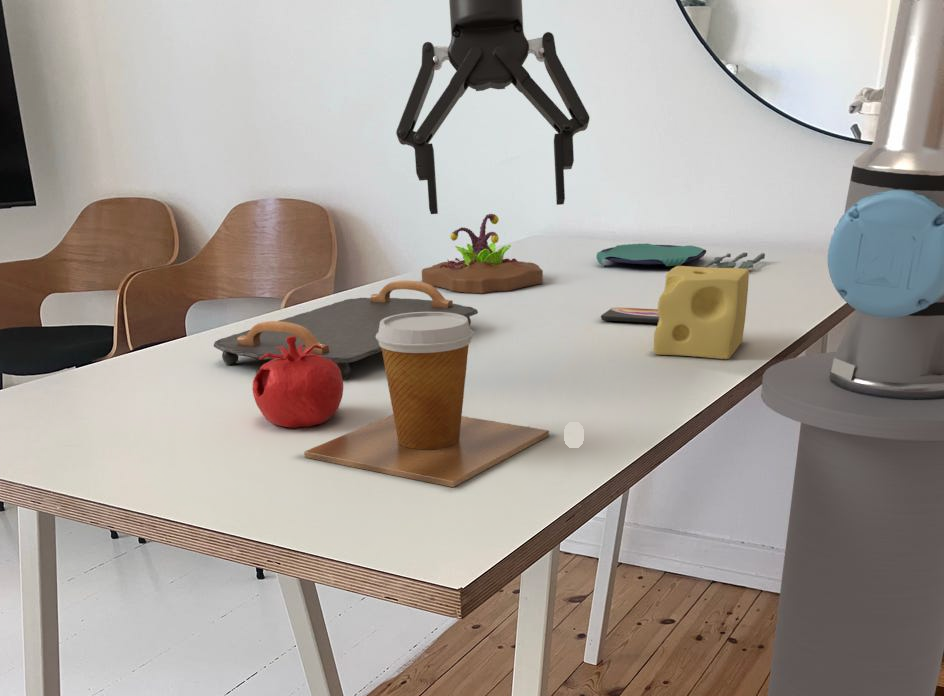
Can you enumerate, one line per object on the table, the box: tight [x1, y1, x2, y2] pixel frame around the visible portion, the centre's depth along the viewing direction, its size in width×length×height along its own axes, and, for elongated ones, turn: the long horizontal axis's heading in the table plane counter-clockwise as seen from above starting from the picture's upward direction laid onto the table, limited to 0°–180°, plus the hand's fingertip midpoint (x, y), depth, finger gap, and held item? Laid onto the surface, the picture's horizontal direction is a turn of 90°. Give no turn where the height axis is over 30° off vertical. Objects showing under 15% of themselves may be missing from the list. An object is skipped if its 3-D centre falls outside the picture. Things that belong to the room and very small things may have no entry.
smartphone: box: [600, 306, 659, 324], centre depth 163 cm, size 8×1×15 cm
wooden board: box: [303, 413, 550, 488], centre depth 112 cm, size 18×18×1 cm
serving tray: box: [213, 280, 479, 380], centre depth 152 cm, size 39×23×6 cm, turn 150°
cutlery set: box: [596, 243, 766, 269], centre depth 205 cm, size 20×30×2 cm, turn 60°
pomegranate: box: [252, 335, 344, 429], centre depth 120 cm, size 10×10×9 cm
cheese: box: [653, 265, 750, 360], centre depth 144 cm, size 10×11×10 cm
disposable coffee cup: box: [376, 312, 474, 450], centre depth 109 cm, size 10×10×12 cm
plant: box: [421, 213, 544, 294], centre depth 192 cm, size 20×20×11 cm
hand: (497, 207), depth 117 cm, fingers open, 13 cm apart
